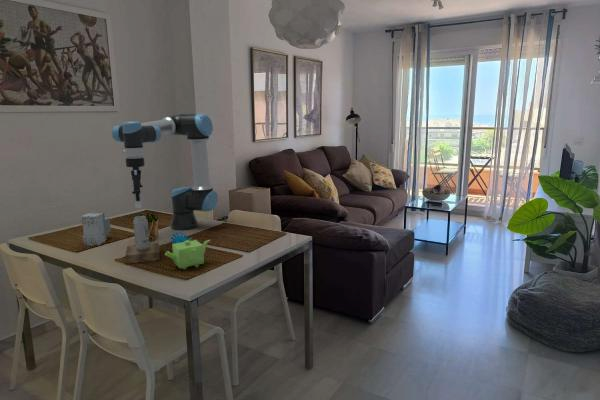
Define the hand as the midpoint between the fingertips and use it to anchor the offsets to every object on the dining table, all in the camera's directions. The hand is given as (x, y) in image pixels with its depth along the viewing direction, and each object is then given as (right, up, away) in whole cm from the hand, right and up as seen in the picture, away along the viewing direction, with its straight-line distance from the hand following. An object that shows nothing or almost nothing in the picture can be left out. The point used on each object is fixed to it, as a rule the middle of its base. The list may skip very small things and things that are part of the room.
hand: (139, 204), depth 183 cm
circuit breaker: (-33, -19, +30) cm, 48 cm away
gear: (+14, -22, +18) cm, 32 cm away
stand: (0, -24, +5) cm, 25 cm away
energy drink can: (0, -20, +4) cm, 21 cm away
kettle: (+25, -27, -6) cm, 37 cm away
